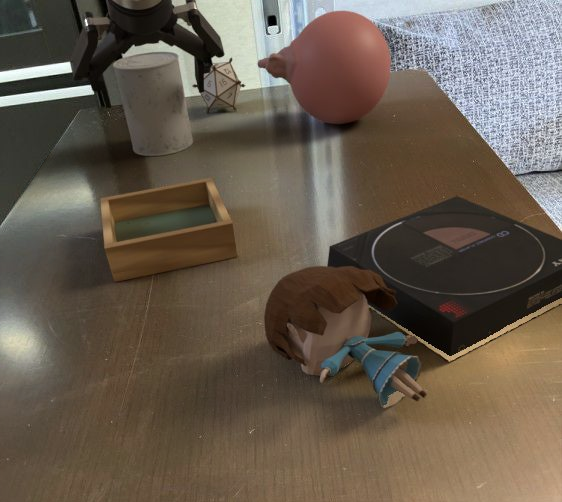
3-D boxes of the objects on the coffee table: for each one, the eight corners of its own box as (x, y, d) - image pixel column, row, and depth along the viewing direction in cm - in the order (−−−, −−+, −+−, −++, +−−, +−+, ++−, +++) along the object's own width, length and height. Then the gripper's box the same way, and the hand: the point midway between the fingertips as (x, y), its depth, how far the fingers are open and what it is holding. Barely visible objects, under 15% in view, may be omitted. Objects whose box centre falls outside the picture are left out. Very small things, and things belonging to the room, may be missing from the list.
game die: (214, 131, 112) (180, 82, 110) (252, 104, 113) (219, 54, 111) (219, 118, 104) (182, 64, 102) (259, 89, 104) (224, 35, 102)
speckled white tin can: (172, 130, 103) (157, 48, 96) (205, 142, 97) (190, 56, 90) (122, 147, 99) (101, 63, 91) (152, 161, 93) (132, 72, 85)
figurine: (444, 414, 51) (319, 316, 58) (494, 320, 45) (349, 224, 53) (353, 466, 44) (224, 347, 51) (399, 362, 38) (246, 244, 45)
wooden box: (109, 229, 76) (100, 198, 73) (216, 208, 78) (211, 177, 75) (114, 282, 66) (104, 248, 63) (237, 256, 68) (232, 223, 65)
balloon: (269, 111, 107) (259, 8, 97) (387, 103, 104) (389, -3, 94) (258, 143, 95) (246, 30, 85) (391, 135, 92) (394, 17, 83)
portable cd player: (449, 228, 68) (452, 194, 66) (584, 292, 57) (594, 253, 54) (327, 279, 62) (325, 243, 60) (449, 362, 51) (453, 322, 48)
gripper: (30, 30, 68) (72, 130, 89) (252, -3, 71) (242, 101, 92) (16, -32, 68) (61, 81, 89) (237, -62, 72) (231, 54, 93)
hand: (153, 91), depth 91 cm, fingers open, 13 cm apart
